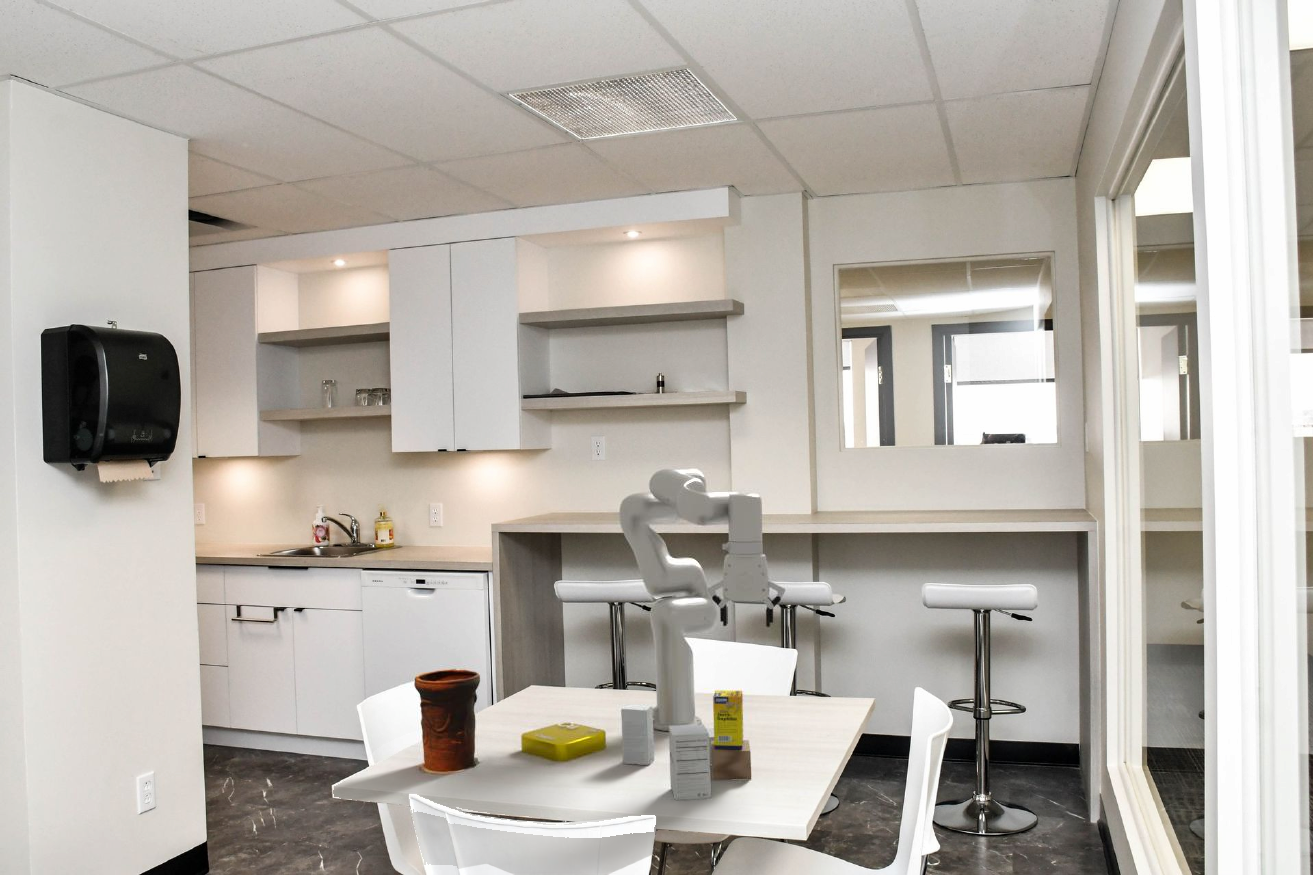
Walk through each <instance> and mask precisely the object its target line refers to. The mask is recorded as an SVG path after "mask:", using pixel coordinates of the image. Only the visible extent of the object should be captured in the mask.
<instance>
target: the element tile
mask: <svg viewBox="0 0 1313 875" xmlns="http://www.w3.org/2000/svg"><path fill="white" fill-rule="evenodd" d="M606 735H607V734H606V731H605V729H601V728H596V727H591V726H587V725H582V724H579V723H574V722H571V721H563V722H559V723H556V724H551V725H549V726H544V727H541V728H538V729H534V730H530V731H527V732H523V733H521V736H520V738H521V739H520V740H521V752H522V753H523V754H525V755H530V756H533V757H537V758H542V759H545V760H549V761H552V762H556V763H564V762H570V761H572V760H575V759H579V758H582V757H585V756H588V755H591V754H594V753H597V752H600V751H604V750H605V749H606V748H607V740H606Z"/></svg>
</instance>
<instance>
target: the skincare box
mask: <svg viewBox="0 0 1313 875" xmlns="http://www.w3.org/2000/svg"><path fill="white" fill-rule="evenodd" d="M652 708H653V706H652V705H639V704H638V705H637V704H627V705H625V706H624V707H622V708H621V710H620V713H621V732H622V733H621V736H622V737H621V738H622V739H621V740H622V763H623V765H624V764H625V765H636V764H637V765H639V766H649V765H651V763H653V762H654V761H655V744H654V743H655V741H654V728H653V714H652Z"/></svg>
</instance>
